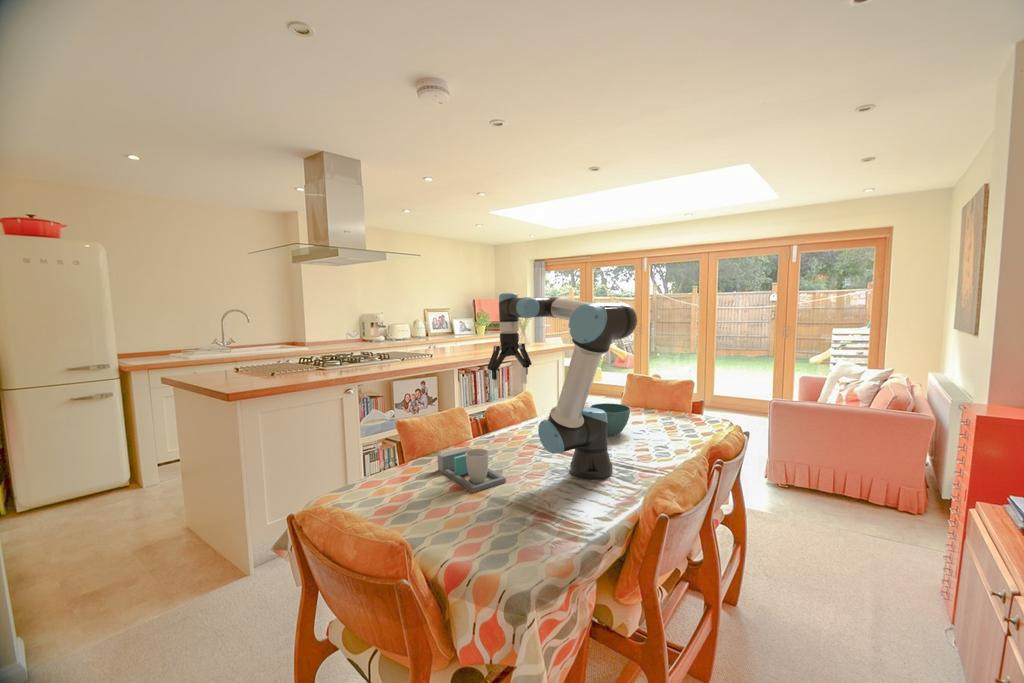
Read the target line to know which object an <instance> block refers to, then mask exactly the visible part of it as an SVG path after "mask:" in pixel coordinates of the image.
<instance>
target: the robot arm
mask: <svg viewBox="0 0 1024 683" xmlns="http://www.w3.org/2000/svg"><path fill="white" fill-rule="evenodd" d="M498 313H499V315H498V317H499V318H498V320H499V332H500V334H499V342H500V345H493V349H492V353H491V357H490V359H489V362H488V365H487V367H486V369H487V370H488V371H490V372H491V379H492V380H493V388H495V389H499V388H500V372H499V368H500V367H501V365H502V363H503V362H504V360H505V359H506V358H507V357H512V356H514V357H515V358H516V359H517V361H518V362H519V363H520V365H521V367H520V379H521V380H520V381H521V382H520V383H521V384H527V383H528V380H527V376H528V374H529V372H528V371H529V370H528V368H530V366H531V365H533V364H532V361H531V359H530V357H529V354H528V352H527V349H526V345H525V343H523V342H520V343H519V340H520V336H519V329H520V326H519V324H520V323H519V318H520V319H522V318H523V319H532V318H542V317H544V318H545V317H547V318H555V319H559V320H563V321H564V320H565V321H568V328H569V334H570V337H571V341H572V343H573V345H574V349H573V352H572V356H571V359H570V362H569V364H568V369H567V372H566V375H565V378H564V382H563V385H562V388H561V390H560V394H559V397H558V398H559V399H558V401H557V405H556V406H554V407H552V408H551V410H550V413H549V414H548V415H549V416H548V418H547V419H544V420H541V421H540V423H539V424H538V430H537V431H538V432H537V433H538V438H539V440H540V444H541V445H542V447H543V448H544V450H546V451H547V452H548V453H550V454H553V455H556V454H563V453H564V452H568V451H571V450H574V451H573V455H572V458H571V462H570V465H569V467H570V468H569V470H570V473H571V474H572V475H573V476H575V477H578V478H582V479H585V480H586V479H587V480H588V479H589V480H600V479H605V478H609V477H610V476H612V474H613V471H614V470H613V464H612V462H611V458H610V455H609V452H608V436H607V435H608V421H607V414H606V412H605V411H603V410H601V409H597V408H591V407H590V406H589V407H588V406H585V405H586V404H587V403H586V402H587V399H588V397H589V394H590V390H591V388H592V385H593V382H594V378H595V375H596V373H597V370H598V366H599V364H600V361H601V358H602V356H603V355H604V354H607V353H608V352H609V350H610V348H611V344H612V341H615V340H623V339H625V338H628V337H629V336H631V335H632V334H633V332H634V331H635V330H636V327H637V324H638V315H637V313H636V311H635V309H634V308H633V307H632V306H631V305H629V303H625V302H619V301H615V302H597V301H596V302H594V301H593V302H587V301H580V300H579V301H578V300H574V299H573V300H572V299H565V298H562V297H560V296H559V297H558V296H551V297H550V296H549V297H548V296H547V297H540V296H539V297H538V296H537V297H530V296H529V297H527V296H525V297H524V296H523V297H519V295H518V293H517V292H509V293H508V292H507V293H505V292H503V293H500V294H499V296H498Z"/></svg>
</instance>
